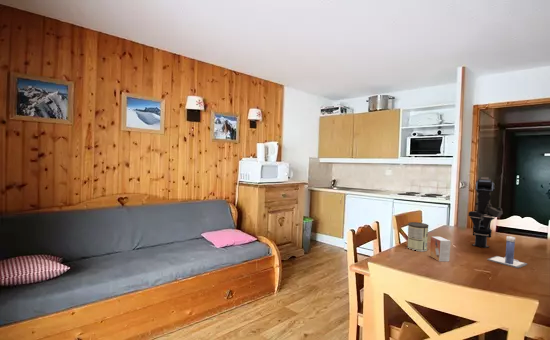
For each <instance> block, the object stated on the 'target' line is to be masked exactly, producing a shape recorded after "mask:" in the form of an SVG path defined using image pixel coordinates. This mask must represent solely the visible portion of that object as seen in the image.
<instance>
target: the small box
mask: <svg viewBox="0 0 550 340" xmlns="http://www.w3.org/2000/svg"><path fill="white" fill-rule="evenodd" d="M429 244H430V246H429V257H431V258H433V259H435V260H436V261H438V262H450V256H451V244H452V242H451V240H450V239H447V238H444V237H442V236H430V243H429Z"/></svg>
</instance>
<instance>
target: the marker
mask: <svg viewBox="0 0 550 340" xmlns="http://www.w3.org/2000/svg"><path fill="white" fill-rule="evenodd" d="M505 241H506V244H505V245H506V246H505V256H504V257H505V263H507V264H513V261H514V259H515V247H516V245H515V244H516V236H511V235H506V239H505Z"/></svg>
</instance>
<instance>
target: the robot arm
mask: <svg viewBox="0 0 550 340" xmlns="http://www.w3.org/2000/svg"><path fill="white" fill-rule="evenodd" d="M475 191H476V195H477V198H476V199H477V200H476V201H477V202H475V205H476V209H475V210H473V211H471V210H470V211H469V212H468V217H469V218H470V220H471V222H472V223H473V227H472V236H475V237H474V238H475V239H474V243H472V246H475V247H478V248H483V249H485V248H489V245H488V244H487V241H488V240H487V239H488V238H489V239H490V238H492V231H493V230H492V228H491V227H490V225H491V222H492V221H493V220H495V219H496V218H500V217H502V215H503V214H504V213H503V212H504V211H503V208H501V207H497V208H495V207H493V205H492V203H491V199H492V196H491V192H494V191H495V182H494V181H493V180H492V179H491V178H490V177H489V176H479V178H478V179H477V180H476V181H475Z"/></svg>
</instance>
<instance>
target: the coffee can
mask: <svg viewBox="0 0 550 340" xmlns="http://www.w3.org/2000/svg"><path fill="white" fill-rule="evenodd" d="M407 225H408V226H407V228H408V229H407V246H406V248H407V249H408V248H409V249H408V250H410V249H412V250H411V251H414V250H416V251H415V252H427V251H428V241H429V240H428V239H429V237H428V235H429V227H430V226H429V224H428V223H424V222H417V221H416V222H415V221H414V222H413V221H412V222H411V221H410V222H408V223H407Z"/></svg>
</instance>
